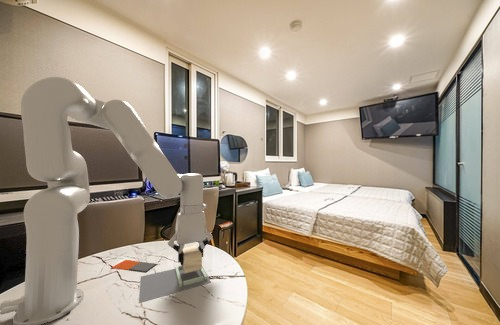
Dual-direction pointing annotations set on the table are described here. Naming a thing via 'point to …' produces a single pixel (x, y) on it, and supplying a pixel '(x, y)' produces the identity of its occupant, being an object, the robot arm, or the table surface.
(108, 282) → the table surface
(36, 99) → the robot arm
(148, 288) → the mat
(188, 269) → the card box
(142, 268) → the phone
